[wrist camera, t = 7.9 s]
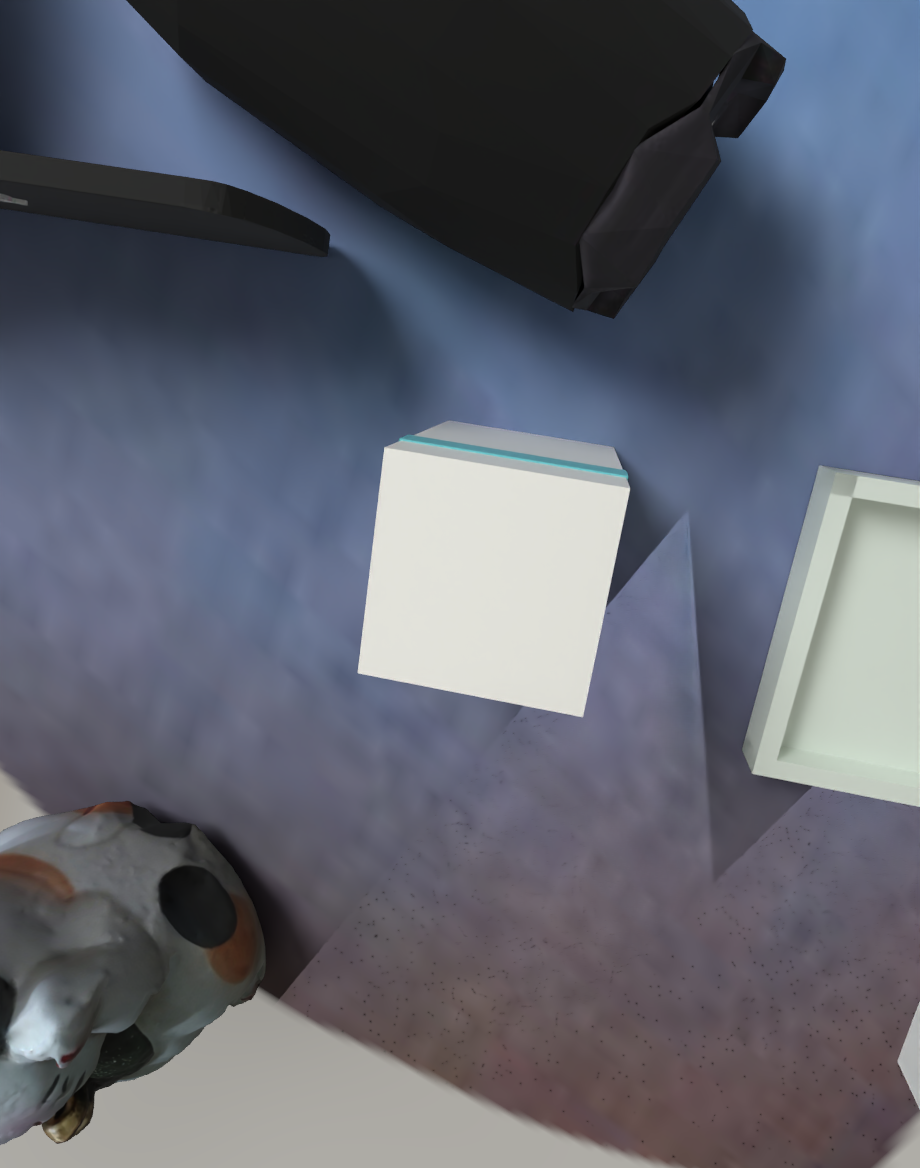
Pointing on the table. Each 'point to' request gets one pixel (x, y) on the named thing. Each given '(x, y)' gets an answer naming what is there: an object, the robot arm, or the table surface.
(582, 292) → the portable speaker
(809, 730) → the tray
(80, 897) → the lucky cat figurine
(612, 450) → the block
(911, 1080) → the robot arm
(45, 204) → the camcorder
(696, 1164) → the table surface
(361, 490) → the table surface
